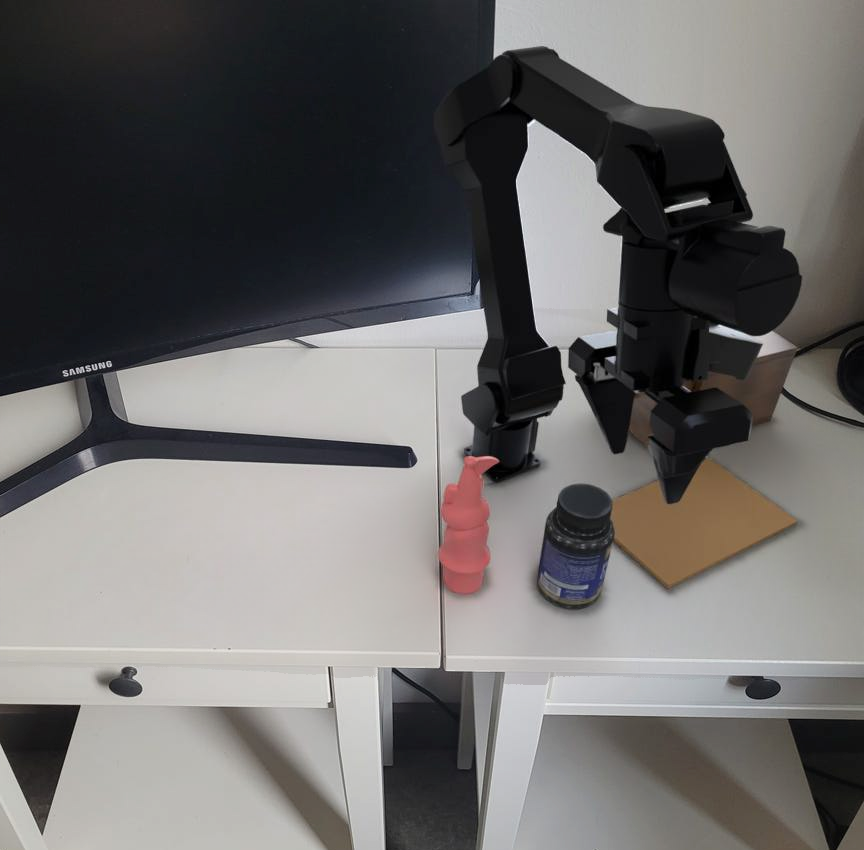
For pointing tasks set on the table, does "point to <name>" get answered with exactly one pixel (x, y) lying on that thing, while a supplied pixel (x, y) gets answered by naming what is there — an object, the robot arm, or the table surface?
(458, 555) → the figurine
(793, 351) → the cabinet
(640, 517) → the mat
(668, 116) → the robot arm
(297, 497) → the table surface
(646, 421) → the drawer
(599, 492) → the pill bottle
